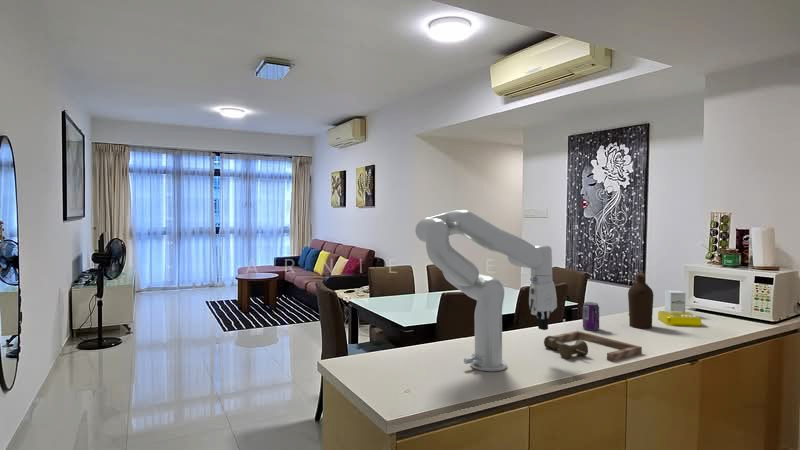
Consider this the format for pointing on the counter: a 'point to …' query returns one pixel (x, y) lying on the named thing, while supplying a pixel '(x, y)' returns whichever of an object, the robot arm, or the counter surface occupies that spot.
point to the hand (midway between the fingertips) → (543, 329)
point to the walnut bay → (624, 351)
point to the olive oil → (640, 304)
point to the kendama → (566, 347)
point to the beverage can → (591, 316)
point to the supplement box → (675, 301)
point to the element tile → (679, 318)
